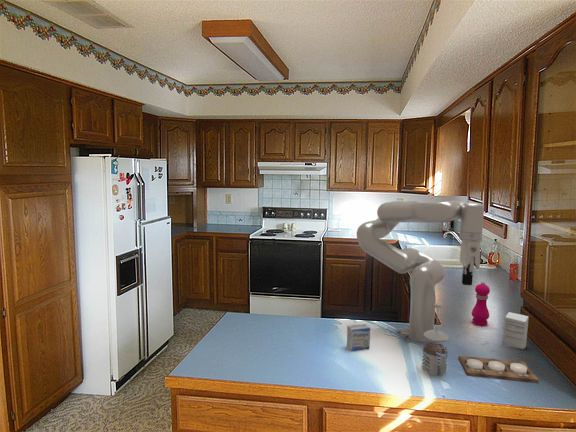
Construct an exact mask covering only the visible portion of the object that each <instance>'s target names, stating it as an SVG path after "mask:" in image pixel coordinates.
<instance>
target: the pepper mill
mask: <svg viewBox="0 0 576 432" xmlns="http://www.w3.org/2000/svg"><path fill="white" fill-rule="evenodd" d="M474 290H475V293H476V294H475V298H476V301H475V305H474V307H473V308H472V310H471V316H472V318H471V319H472V320H471V323H472V324H473V325H475V326H476V327H477V326H478V327H486V326H488V322H489V321H488V320H489V318H490V311H489V309H488V306H487V300H488V299H489V294H490V292H491V289H490V287H489V285H487V284H486V281H485V280H481V281H480V283H478V284H477V285H476V286H475V288H474Z"/></svg>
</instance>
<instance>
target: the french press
mask: <svg viewBox="0 0 576 432" xmlns="http://www.w3.org/2000/svg"><path fill="white" fill-rule="evenodd" d="M436 308H437V314H436V323H438V319H439V309H441V308H442V305H441V304H440V303H435V309H436ZM435 326H436V329H434V330H429V331H426V332H424V336H425V337H426V338H427V339H429V340H431V341H430V342H425V343H424V345H423V346H424V347H423V348H422V362H421V363H422V364H421V365H422V366H421V369H422V371H424V372H425V373H427V374H430V375H432V376H438V369H439V376H443V375H445V374H446V372H447V361H448V360H447V359H448V352H447V350H448V349H447V346H445V345H444V344H441V342H442V343H443V342H446V341H448V340H449V338H450V337H449V335H448V334H446V332H443V331H441V330H438V324H436V325H435ZM438 367H439V368H438Z"/></svg>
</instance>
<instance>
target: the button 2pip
mask: <svg viewBox="0 0 576 432" xmlns="http://www.w3.org/2000/svg"><path fill="white" fill-rule="evenodd" d="M509 368H510V370H511V371H512V372H513V373H522V374H527V367H526V366H524V365H522V364H519V363H511V364H510V367H509Z"/></svg>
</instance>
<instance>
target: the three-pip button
mask: <svg viewBox="0 0 576 432" xmlns="http://www.w3.org/2000/svg"><path fill="white" fill-rule="evenodd" d="M466 365H467V367H468V368H472V369H482V370H484V369H483V363H482V362H481V361H479V360H476V359H468V360H467V363H466Z"/></svg>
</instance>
